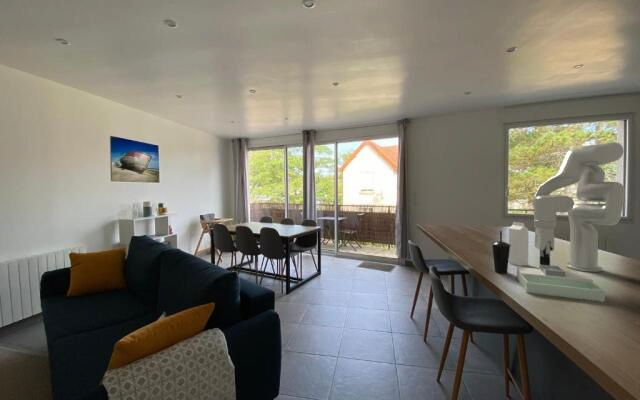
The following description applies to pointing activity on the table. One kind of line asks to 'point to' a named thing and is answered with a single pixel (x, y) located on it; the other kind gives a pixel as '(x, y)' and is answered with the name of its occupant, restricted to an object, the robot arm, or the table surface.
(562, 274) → the slate tile
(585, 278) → the cream rectangular block
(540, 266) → the slate tile
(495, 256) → the drinking cup
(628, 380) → the table surface
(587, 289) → the box
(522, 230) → the milk
